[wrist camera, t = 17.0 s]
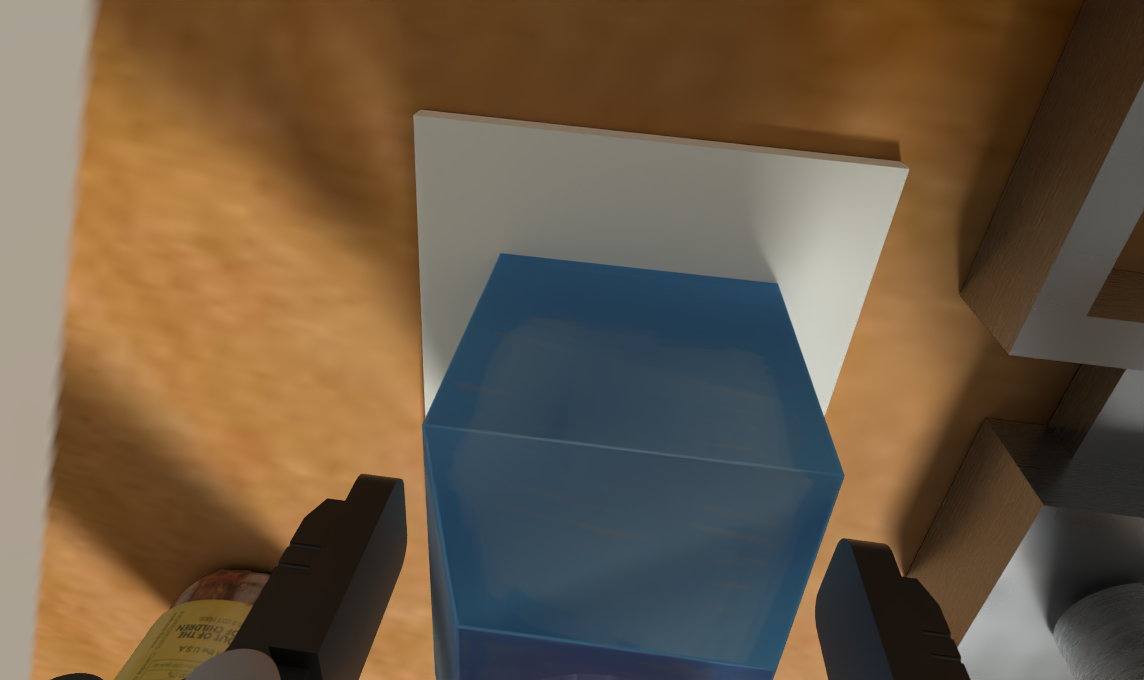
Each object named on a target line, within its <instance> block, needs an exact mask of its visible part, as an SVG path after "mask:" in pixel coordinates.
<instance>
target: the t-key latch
mask: <svg viewBox="0 0 1144 680" xmlns="http://www.w3.org/2000/svg"><path fill="white" fill-rule="evenodd" d="M1054 641H1055V645H1056V646H1057V648H1058V650H1059V652H1060V654H1061V655H1062V657H1063V659H1064V661H1065V663H1066V664H1067V666H1068V668H1069V670H1070V672H1071V673H1072V675H1073V677H1074V679H1075V680H1144V583H1132V584H1125V585H1119V586H1115V587H1111V588H1107V589H1104V590H1101V591H1098V592H1096V593H1093V594H1091V595H1089V596H1087V597H1085V598H1083V599H1081V600H1080V601H1078V602H1076V603H1075V604H1074V605H1072V606H1071V607H1070V608H1069V609H1068V610H1066V611H1065V612H1064V613H1063V615H1062V616H1061V617H1060V618H1059V620H1058V622H1057V623H1056V626H1055V628H1054Z"/></svg>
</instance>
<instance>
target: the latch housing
mask: <svg viewBox="0 0 1144 680" xmlns="http://www.w3.org/2000/svg"><path fill="white" fill-rule="evenodd" d="M1143 211H1144V0H1085V2H1084V4H1083V7H1082V9H1081V11H1080V14H1079V16H1078V18H1077V21H1076V23H1075V25H1074V28H1073V30H1072V33H1071V35H1070V37H1069V40H1068V42H1067V44H1066V47H1065V49H1064V51H1063V54H1062V56H1061V58H1060V61H1059V63H1058V65H1057V68H1056V70H1055V73H1054V75H1053V77H1052V80H1051V82H1050V84H1049V87H1048V89H1047V91H1046V94H1045V96H1044V98H1043V101H1042V103H1041V105H1040V108H1039V110H1038V113H1037V115H1036V117H1035V120H1034V122H1033V124H1032V127H1031V129H1030V131H1029V134H1028V136H1027V138H1026V141H1025V143H1024V145H1023V148H1022V150H1021V153H1020V155H1019V157H1018V160H1017V162H1016V164H1015V167H1014V169H1013V171H1012V174H1011V176H1010V178H1009V181H1008V183H1007V185H1006V188H1005V190H1004V193H1003V195H1002V197H1001V200H1000V202H999V204H998V207H997V209H996V211H995V214H994V216H993V218H992V221H991V223H990V225H989V228H988V230H987V233H986V235H985V237H984V240H983V242H982V244H981V247H980V249H979V251H978V254H977V256H976V258H975V261H974V263H973V265H972V268H971V270H970V273H969V275H968V277H967V280H966V282H965V284H964V287H963V289H962V291H961V294H960V296H961V297H962V298H963V300H964V301H965V302H966V303H967V305H968V306H969V307H970V308H971V309H972V311H973V312H974V313H975V314H976V316H977V317H978V318H979V319H980V320H981V322H982V323H983V324H984V325H985V326H986V328H987V329H988V330H989V331H990V333H991V334H992V335H993V336H994V337H995V339H996V340H997V341H998V342H999V344H1000V345H1001V346H1002V347H1003V348H1004V350H1005V351H1006V352H1007V353H1008V355H1014V356H1022V357H1030V358H1039V359H1047V360H1056V361H1064V362H1072V363H1081V364H1082V365H1081V367H1080V368H1079V370H1078V372H1077V374H1076V375H1075V377H1074V379H1073V381H1072V383H1071V384H1070V386H1069V388H1068V390H1067V391H1066V393H1065V395H1064V397H1063V399H1062V400H1061V402H1060V404H1059V406H1058V407H1057V409H1056V411H1055V413H1054V415H1053V416H1052V418H1051V420H1050V422H1049V423H1048V425H1039V424H1031V423H1023V422H1015V421H1006V420H998V419H990V418H985V420H984V422H983V424H982V426H981V428H980V430H979V432H978V434H977V436H976V438H975V440H974V442H973V444H972V446H971V448H970V450H969V452H968V454H967V456H966V458H965V460H964V462H963V464H962V466H961V468H960V470H959V472H958V474H957V476H956V478H955V480H954V482H953V484H952V486H951V488H950V490H949V492H948V494H947V496H946V498H945V500H944V502H943V504H942V506H941V508H940V510H939V512H938V514H937V516H936V518H935V520H934V522H933V524H932V526H931V528H930V530H929V532H928V534H927V536H926V538H925V540H924V542H923V544H922V546H921V548H920V550H919V552H918V554H917V556H916V558H915V560H914V562H913V564H912V566H911V568H910V570H909V572H908V574H907V576H906V577H909V578H917V579H918V580H919V582H920V583H921V584H922V585H923V586H924V587H925V589H926V590H927V591H928V592H929V593H930V595H931V596H932V597H933V598H934V599H935V600H936V602H937V603H938V604H939V605H940V608H941V610H942V612H943V615H944V617H945V620H946V622H947V624H948V627H949V629H950V632H951V639H954V641H955V644H956V646H957V648H958V651H959V653H960V655H961V663H964V665H965V667H966V670H967V672H968V675H969V677H970V679H975V680H1075V679H1074V677H1073V675H1072V673H1071V672H1070V670H1069V668H1068V666H1067V664H1066V663H1065V661H1064V659H1063V657H1062V655H1061V654H1060V652H1059V650H1058V648H1057V646H1056V645H1055V641H1054V628H1055V626H1056V623H1057V622H1058V620H1059V618H1060V617H1061V616H1062V615H1063V613H1064V612H1065V611H1066V610H1068V609H1069V608H1070V607H1071V606H1072V605H1074V604H1075V603H1076V602H1078V601H1080V600H1081V599H1083V598H1085V597H1087V596H1089V595H1091V594H1093V593H1096V592H1098V591H1101V590H1104V589H1107V588H1111V587H1115V586H1119V585H1125V584H1132V583H1144V273H1137V272H1128V271H1119V270H1112V268H1113V266H1114V264H1115V262H1116V260H1117V259H1118V257H1119V255H1120V253H1121V251H1122V249H1123V248H1124V246H1125V244H1126V242H1127V240H1128V238H1129V236H1130V235H1131V233H1132V231H1133V229H1134V227H1135V225H1136V224H1137V222H1138V220H1139V218H1140V216H1141V214H1142V213H1143Z"/></svg>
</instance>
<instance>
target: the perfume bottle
mask: <svg viewBox="0 0 1144 680" xmlns="http://www.w3.org/2000/svg"><path fill="white" fill-rule="evenodd" d="M422 428H423V447H424V466H425V486H426V505H427V524H428V544H429V563H430V582H431V602H432V621H433V640H434V660H435V675H436V679H437V680H773V678H774V675H775V672H776V670H777V667H778V664H779V661H780V658H781V656H782V653H783V650H784V647H785V644H786V641H787V638H788V636H789V633H790V630H791V627H792V624H793V621H794V619H795V616H796V613H797V610H798V607H799V604H800V601H801V599H802V596H803V593H804V590H805V587H806V584H807V581H808V579H809V576H810V573H811V570H812V567H813V564H814V561H815V559H816V556H817V553H818V550H819V547H820V544H821V542H822V539H823V536H824V533H825V530H826V527H827V524H828V522H829V519H830V516H831V513H832V510H833V507H834V504H835V502H836V499H837V496H838V493H839V490H840V487H841V485H842V482H843V479H844V473H843V470H842V467H841V464H840V461H839V458H838V455H837V452H836V450H835V447H834V444H833V441H832V438H831V435H830V432H829V429H828V426H827V424H826V421H825V418H824V415H823V412H822V409H821V406H820V403H819V400H818V398H817V395H816V392H815V389H814V386H813V383H812V380H811V377H810V374H809V371H808V369H807V366H806V363H805V360H804V357H803V354H802V351H801V348H800V345H799V343H798V340H797V337H796V334H795V331H794V328H793V325H792V322H791V319H790V317H789V314H788V311H787V308H786V305H785V302H784V299H783V296H782V293H781V291H780V288H779V285H778V283H769V282H760V281H751V280H742V279H733V278H723V277H714V276H705V275H696V274H687V273H678V272H669V271H660V270H650V269H641V268H632V267H623V266H614V265H605V264H596V263H586V262H577V261H568V260H559V259H550V258H541V257H532V256H522V255H513V254H504V253H500V255H499V257H498V259H497V262H496V264H495V266H494V268H493V270H492V273H491V275H490V277H489V279H488V281H487V284H486V286H485V288H484V290H483V292H482V295H481V297H480V299H479V301H478V303H477V306H476V308H475V310H474V312H473V314H472V317H471V319H470V321H469V323H468V325H467V327H466V330H465V332H464V334H463V336H462V338H461V341H460V343H459V345H458V347H457V349H456V352H455V354H454V356H453V358H452V360H451V363H450V365H449V367H448V369H447V371H446V374H445V376H444V378H443V380H442V382H441V385H440V387H439V389H438V391H437V393H436V396H435V398H434V400H433V402H432V404H431V406H430V409H429V411H428V413H427V415H426V417H425V420H424V422H423V424H422Z"/></svg>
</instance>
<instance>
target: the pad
mask: <svg viewBox="0 0 1144 680" xmlns="http://www.w3.org/2000/svg"><path fill="white" fill-rule="evenodd" d="M413 119H414V144H415V170H416V195H417V220H418V246H419V271H420V297H421V322H422V347H423V373H424V398H425V417H426V415H427V413H428V411H429V409H430V406H431V404H432V402H433V400H434V398H435V396H436V393H437V391H438V389H439V387H440V385H441V382H442V380H443V378H444V376H445V374H446V371H447V369H448V367H449V365H450V363H451V360H452V358H453V356H454V354H455V352H456V349H457V347H458V345H459V343H460V341H461V338H462V336H463V334H464V332H465V330H466V327H467V325H468V323H469V321H470V319H471V317H472V314H473V312H474V310H475V308H476V306H477V303H478V301H479V299H480V297H481V295H482V292H483V290H484V288H485V286H486V284H487V281H488V279H489V277H490V275H491V273H492V270H493V268H494V266H495V264H496V262H497V259H498V257H499V255H500V253H504V254H513V255H522V256H532V257H541V258H550V259H559V260H568V261H577V262H586V263H596V264H605V265H614V266H623V267H632V268H641V269H650V270H660V271H669V272H678V273H687V274H696V275H705V276H714V277H723V278H733V279H742V280H751V281H760V282H769V283H778V285H779V288H780V291H781V293H782V296H783V299H784V302H785V305H786V308H787V311H788V314H789V317H790V319H791V322H792V325H793V328H794V331H795V334H796V337H797V340H798V343H799V345H800V348H801V351H802V354H803V357H804V360H805V363H806V366H807V369H808V371H809V374H810V377H811V380H812V383H813V386H814V389H815V392H816V395H817V398H818V400H819V403H820V406H821V409H822V412H823V415H824V416H825V413H826V410H827V407H828V405H829V402H830V399H831V396H832V393H833V390H834V387H835V384H836V381H837V378H838V375H839V373H840V370H841V367H842V364H843V361H844V358H845V355H846V352H847V349H848V346H849V344H850V341H851V338H852V335H853V332H854V329H855V326H856V323H857V320H858V317H859V314H860V312H861V309H862V306H863V303H864V300H865V297H866V294H867V291H868V288H869V285H870V283H871V280H872V277H873V274H874V271H875V268H876V265H877V262H878V259H879V256H880V253H881V251H882V248H883V245H884V242H885V239H886V236H887V233H888V230H889V227H890V224H891V222H892V219H893V216H894V213H895V210H896V207H897V204H898V201H899V198H900V195H901V192H902V190H903V187H904V184H905V181H906V178H907V175H908V172H909V168H908V167H907V166H906V165H905V164H904V163H903V162H901V161H892V160H882V159H873V158H864V157H855V156H845V155H836V154H827V153H818V152H808V151H799V150H790V149H780V148H771V147H762V146H753V145H743V144H734V143H725V142H716V141H706V140H697V139H688V138H679V137H669V136H660V135H651V134H641V133H632V132H623V131H614V130H604V129H595V128H586V127H577V126H567V125H558V124H549V123H540V122H530V121H521V120H512V119H502V118H493V117H484V116H475V115H465V114H456V113H447V112H438V111H428V110H419V111H418V112H417V113H416V114H414V115H413Z"/></svg>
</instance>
